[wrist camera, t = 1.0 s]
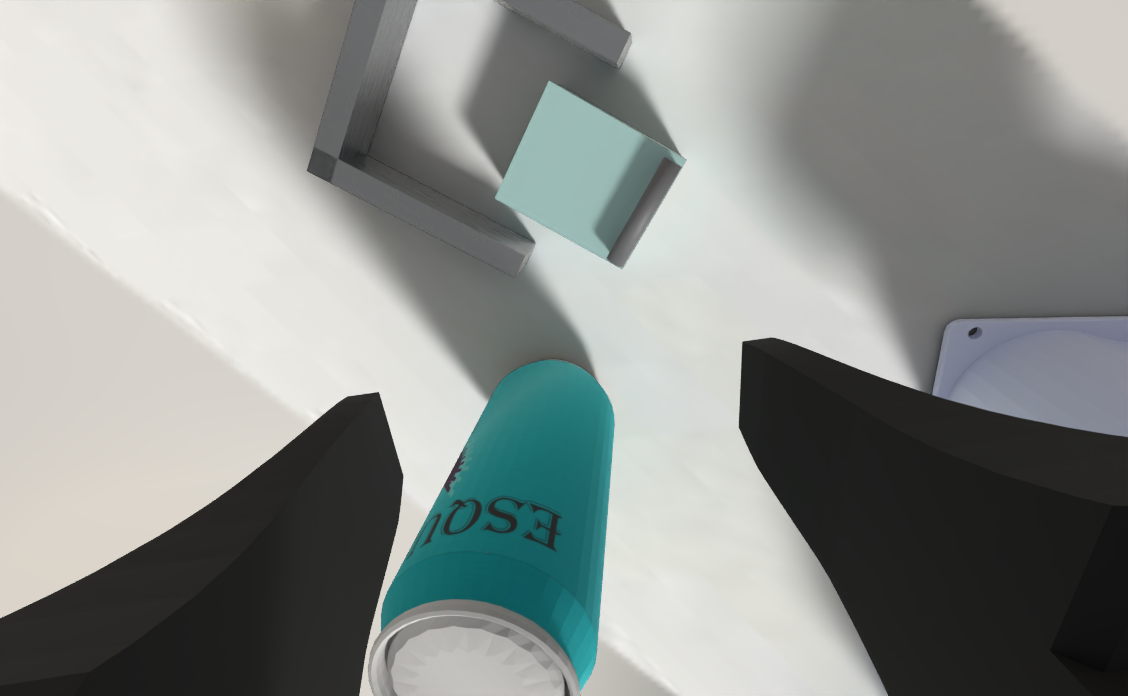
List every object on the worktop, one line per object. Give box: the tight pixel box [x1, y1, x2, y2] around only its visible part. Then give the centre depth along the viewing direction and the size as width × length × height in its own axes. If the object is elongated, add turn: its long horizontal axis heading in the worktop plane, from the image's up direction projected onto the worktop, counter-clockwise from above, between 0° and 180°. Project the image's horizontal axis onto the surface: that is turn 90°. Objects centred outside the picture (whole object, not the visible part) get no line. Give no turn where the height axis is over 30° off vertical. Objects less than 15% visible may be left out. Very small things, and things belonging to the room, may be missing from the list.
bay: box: [307, 0, 632, 278], centre depth 21 cm, size 9×10×2 cm
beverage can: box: [368, 359, 614, 696], centre depth 20 cm, size 6×6×15 cm
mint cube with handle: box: [495, 81, 687, 269], centre depth 21 cm, size 6×4×4 cm
